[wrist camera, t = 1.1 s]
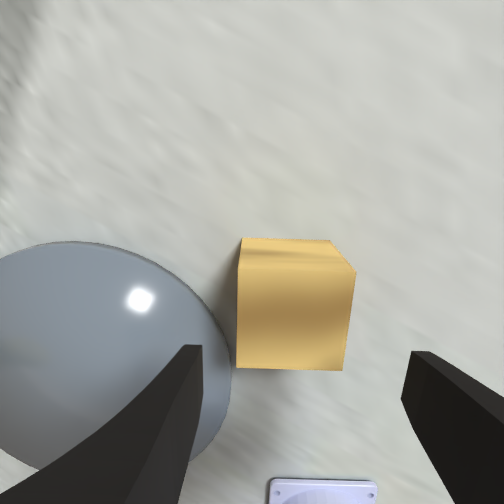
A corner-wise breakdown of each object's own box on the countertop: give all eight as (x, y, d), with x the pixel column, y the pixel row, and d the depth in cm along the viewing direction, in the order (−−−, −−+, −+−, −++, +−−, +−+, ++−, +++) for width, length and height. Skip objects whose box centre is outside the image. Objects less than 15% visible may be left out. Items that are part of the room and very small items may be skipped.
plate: (230, 474, 23) (229, 487, 23) (-9, 467, 23) (-20, 480, 22) (233, 246, 18) (232, 251, 17) (-81, 236, 18) (-100, 241, 17)
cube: (320, 317, 19) (342, 370, 15) (240, 314, 19) (236, 367, 15) (329, 239, 18) (356, 272, 13) (242, 237, 18) (238, 268, 13)
